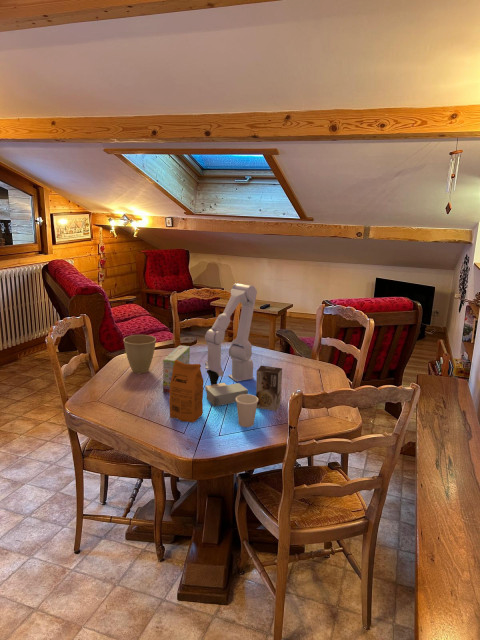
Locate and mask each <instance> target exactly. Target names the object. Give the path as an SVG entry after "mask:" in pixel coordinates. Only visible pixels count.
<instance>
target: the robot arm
mask: <svg viewBox="0 0 480 640" xmlns="http://www.w3.org/2000/svg"><path fill="white" fill-rule="evenodd" d="M257 294H258V290H257V288H256V287H255V286H254V285H249V284H244V283H240V282H235V283H234V284H233V285H232V287H231V289H230V297H229V300H228V302H227V303H226V306H225V308H224V310H223V313H220V314H218V316H217V317H216V319H215V321H214V323H213V324H212V327H211V328H210V329H208V330H207V331H206V332H205V335H204V339H205V342H206V345H207V360H205V362H204V365H205V367H204V369H205V370H206V374H208V378H209V381H210V385H214V384H218V380H219V378H220V377H222V376H224V371H223V368H222V366H221V365H222V363H221V361H222V359H221V357H222V343H223V341H224V340H225V335H226V330H227V329H228V327H229V325H230V323H231V316H232V315H233V313H234V311H235V310H236V309H237V307H238V305H240V304H241V311H240V317H239V322H238V329H237V334H236V338H235V339H233V340H232V341H231V343H230V346H229V348H228V355H229V357H230V359H231V374H228V377H229V378H230V379H232V380H233V381H234V382H236V383H238V382H243V381H248V380H252V379H254V362H253V360H252V356H253V355H252V354H253V351H252V348H253V345H252V343H251V342H250V341H249V337H250V331H251V326H252V320H253V316H254V315H253V314H254V308H255V304H256V298H257Z"/></svg>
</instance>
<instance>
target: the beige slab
mask: <svg viewBox="0 0 480 640" xmlns="http://www.w3.org/2000/svg"><path fill="white" fill-rule="evenodd" d="M248 391H249V390H248V388H247V387H245V386H243V385H242V384H241V383H240V382H236V383H232V384H226V385H225V386H220V387H214V388H209V389H207V391H206V400H207V401H208V402H209V403H210V404H211V405H213V407H219V406H225V405H229V404H235V403H237V402H236V397H237V396H239V395H243V394H249V393H248Z"/></svg>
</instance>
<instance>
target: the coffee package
mask: <svg viewBox="0 0 480 640" xmlns="http://www.w3.org/2000/svg"><path fill="white" fill-rule="evenodd" d="M201 367H202V365H201V364H200V363H189V364H184V363H182V362H180V361H178V360H175V362H174V366H173V372H172V378H171V383H170V393H169V399H168V401H169V418H170V419H177V420H178V421H180V422H183V423H192V424H193V423H195V422H196V421H197V420H199V419H200V417H202V416H203V414H204V409H203V407H204V404H203V398H204V377H203V374H202V371H201Z"/></svg>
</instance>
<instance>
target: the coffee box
mask: <svg viewBox="0 0 480 640" xmlns="http://www.w3.org/2000/svg"><path fill="white" fill-rule="evenodd" d="M282 376H283V368H281V367H276V366H275V367H274V366H269V365H268V366H266V365H260V366H259V367H258V369H257V370H256V380H255V381H256V382H255V383H256V386H255V387H256V388H255V390H256V391H255V396H256V397H257V398H258V402H257V408H256V409H261V410H267V411H273V412H278V410H279V409H280V407H281V406H282V405H281V404H282V403H281V400H282V379H283V377H282ZM280 405H281V406H280Z"/></svg>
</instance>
